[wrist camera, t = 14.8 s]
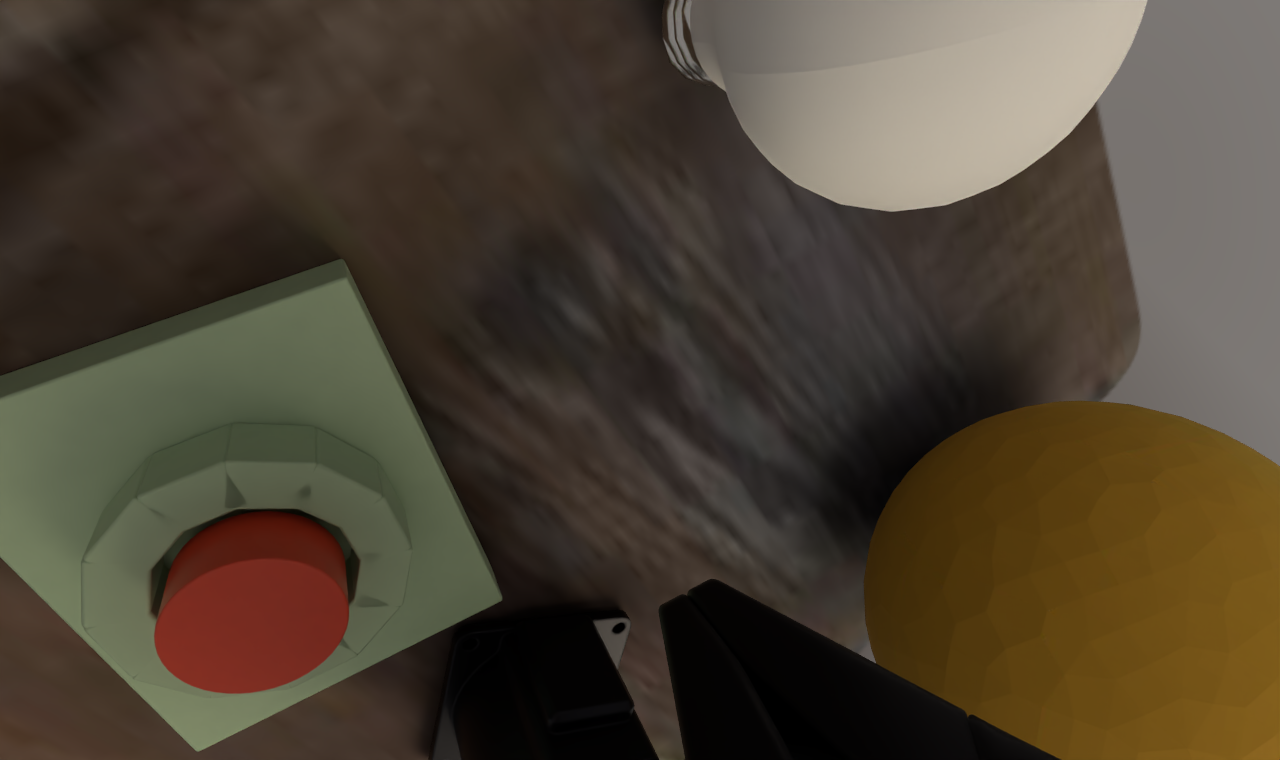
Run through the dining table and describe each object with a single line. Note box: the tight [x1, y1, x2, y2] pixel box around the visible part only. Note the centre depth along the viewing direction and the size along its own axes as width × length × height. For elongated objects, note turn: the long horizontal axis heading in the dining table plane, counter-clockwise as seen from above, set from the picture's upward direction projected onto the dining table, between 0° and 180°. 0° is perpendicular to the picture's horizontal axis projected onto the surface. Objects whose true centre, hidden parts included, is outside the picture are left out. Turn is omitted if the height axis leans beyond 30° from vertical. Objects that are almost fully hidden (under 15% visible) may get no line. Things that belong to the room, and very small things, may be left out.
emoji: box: [864, 401, 1280, 760], centre depth 24 cm, size 16×16×15 cm
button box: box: [0, 259, 502, 751], centre depth 17 cm, size 11×9×4 cm
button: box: [154, 511, 349, 694], centre depth 15 cm, size 4×4×2 cm
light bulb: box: [662, 0, 1147, 212], centre depth 13 cm, size 7×7×11 cm
